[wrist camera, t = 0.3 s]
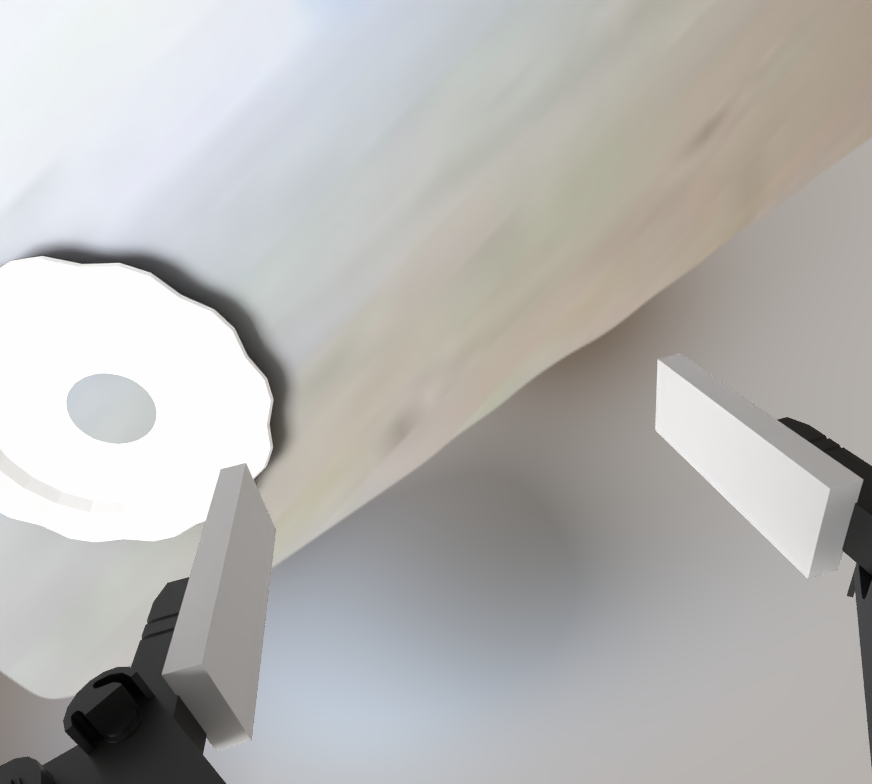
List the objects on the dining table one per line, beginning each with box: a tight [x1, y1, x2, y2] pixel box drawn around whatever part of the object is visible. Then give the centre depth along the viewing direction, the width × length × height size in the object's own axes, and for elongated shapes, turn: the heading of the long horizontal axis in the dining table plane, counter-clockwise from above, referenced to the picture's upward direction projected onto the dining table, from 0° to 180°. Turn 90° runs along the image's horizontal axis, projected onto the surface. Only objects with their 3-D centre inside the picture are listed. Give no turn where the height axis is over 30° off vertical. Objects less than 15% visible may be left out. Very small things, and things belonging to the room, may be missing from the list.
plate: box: [0, 256, 274, 542], centre depth 42 cm, size 25×25×2 cm
